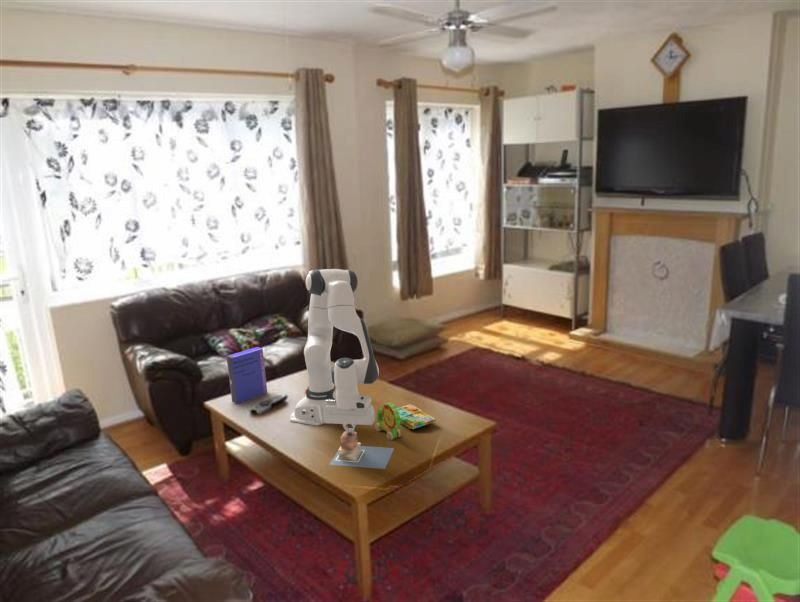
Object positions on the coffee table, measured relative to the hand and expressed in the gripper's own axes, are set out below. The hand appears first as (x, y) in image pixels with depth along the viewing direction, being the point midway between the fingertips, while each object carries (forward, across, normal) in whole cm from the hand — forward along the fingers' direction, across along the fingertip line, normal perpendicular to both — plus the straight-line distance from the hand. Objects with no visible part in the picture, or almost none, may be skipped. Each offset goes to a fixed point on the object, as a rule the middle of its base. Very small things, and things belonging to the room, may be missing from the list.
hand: (350, 433), depth 222 cm
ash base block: (+9, -1, 0) cm, 9 cm away
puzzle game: (+11, +18, +33) cm, 39 cm away
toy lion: (+10, +11, +20) cm, 25 cm away
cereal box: (+10, -69, +52) cm, 87 cm away
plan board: (+10, +4, 0) cm, 11 cm away
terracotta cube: (+5, -1, 0) cm, 5 cm away
